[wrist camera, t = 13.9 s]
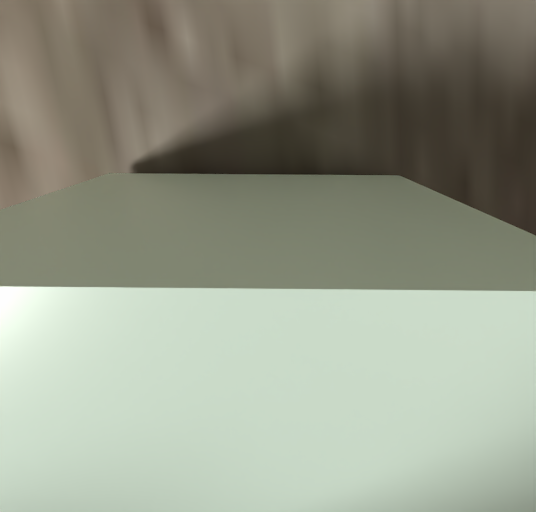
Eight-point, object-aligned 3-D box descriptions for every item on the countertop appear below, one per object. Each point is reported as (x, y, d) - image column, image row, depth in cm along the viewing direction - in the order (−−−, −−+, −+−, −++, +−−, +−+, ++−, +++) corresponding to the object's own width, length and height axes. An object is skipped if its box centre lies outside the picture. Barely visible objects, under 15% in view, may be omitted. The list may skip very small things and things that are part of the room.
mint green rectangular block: (109, 173, 9) (-223, 285, 3) (399, 175, 9) (664, 292, 3) (152, 541, 13) (42, 933, 7) (359, 543, 13) (441, 940, 7)
